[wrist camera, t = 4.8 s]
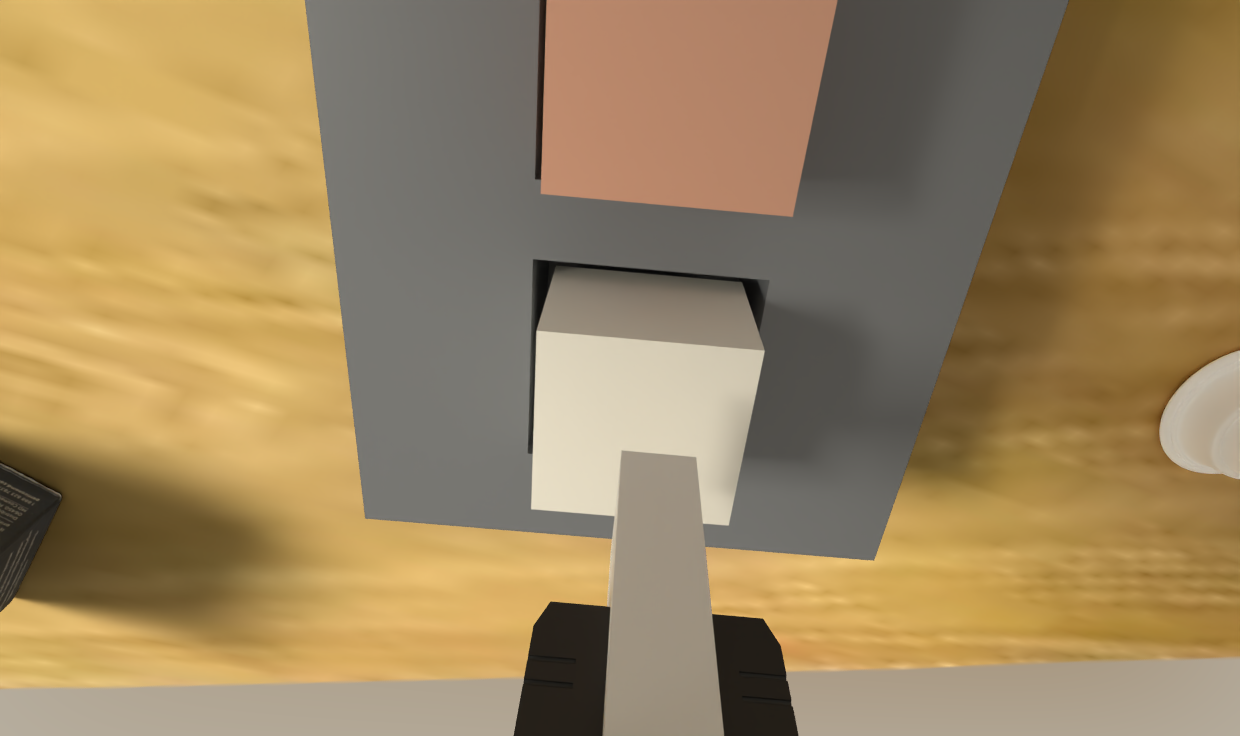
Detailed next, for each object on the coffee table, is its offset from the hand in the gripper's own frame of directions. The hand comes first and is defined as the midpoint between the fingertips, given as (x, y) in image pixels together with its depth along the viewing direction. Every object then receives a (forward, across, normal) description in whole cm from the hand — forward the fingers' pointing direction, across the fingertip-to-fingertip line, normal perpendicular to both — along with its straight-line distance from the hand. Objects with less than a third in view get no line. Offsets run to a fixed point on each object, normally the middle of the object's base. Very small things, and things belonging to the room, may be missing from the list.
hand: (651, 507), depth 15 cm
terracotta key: (+6, 0, +8) cm, 10 cm away
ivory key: (+6, 0, 0) cm, 6 cm away
